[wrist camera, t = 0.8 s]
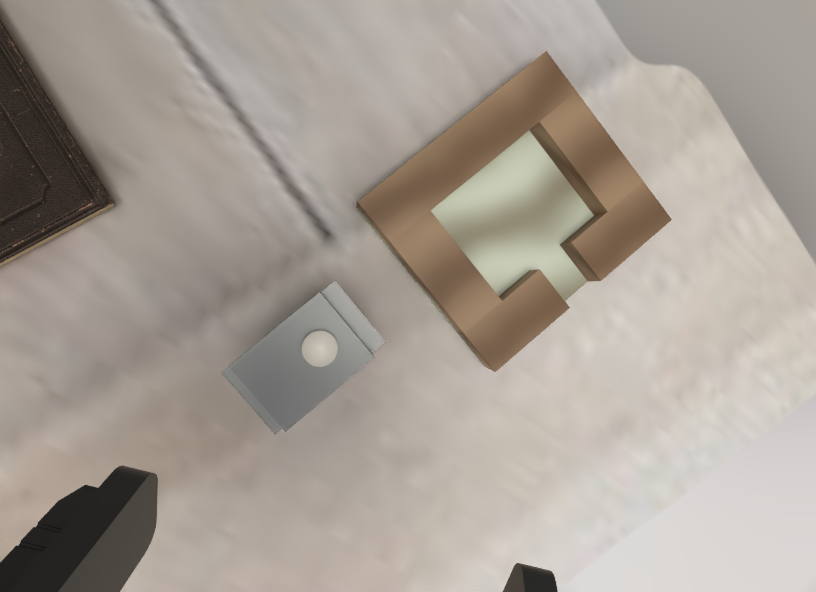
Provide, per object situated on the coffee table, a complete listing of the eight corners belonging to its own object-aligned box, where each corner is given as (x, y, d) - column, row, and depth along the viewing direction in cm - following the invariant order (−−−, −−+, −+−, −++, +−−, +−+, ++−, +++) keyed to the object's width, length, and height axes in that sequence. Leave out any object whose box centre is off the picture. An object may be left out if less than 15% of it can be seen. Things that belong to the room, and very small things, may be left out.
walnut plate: (356, 207, 37) (357, 201, 35) (532, 66, 39) (546, 50, 36) (485, 366, 39) (495, 371, 36) (650, 224, 40) (671, 219, 38)
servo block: (248, 354, 36) (207, 382, 26) (336, 282, 37) (334, 279, 26) (289, 402, 37) (267, 450, 26) (376, 330, 38) (390, 347, 27)
